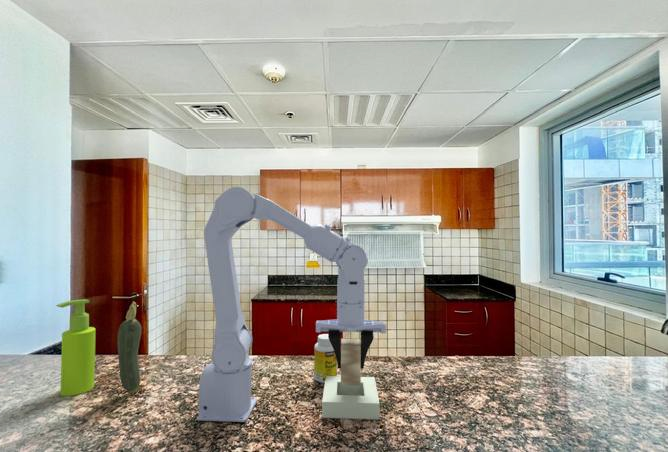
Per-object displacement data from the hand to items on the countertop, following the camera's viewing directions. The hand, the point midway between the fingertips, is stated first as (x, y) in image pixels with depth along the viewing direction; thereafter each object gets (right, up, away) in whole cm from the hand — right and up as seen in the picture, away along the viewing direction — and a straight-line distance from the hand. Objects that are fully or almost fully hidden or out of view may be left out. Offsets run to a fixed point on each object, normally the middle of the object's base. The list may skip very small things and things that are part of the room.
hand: (350, 366), depth 66 cm
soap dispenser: (-61, -8, +4) cm, 62 cm away
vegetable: (-48, -8, +3) cm, 49 cm away
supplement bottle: (-6, -8, +11) cm, 15 cm away
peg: (0, -3, 0) cm, 3 cm away
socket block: (0, -8, 0) cm, 8 cm away
